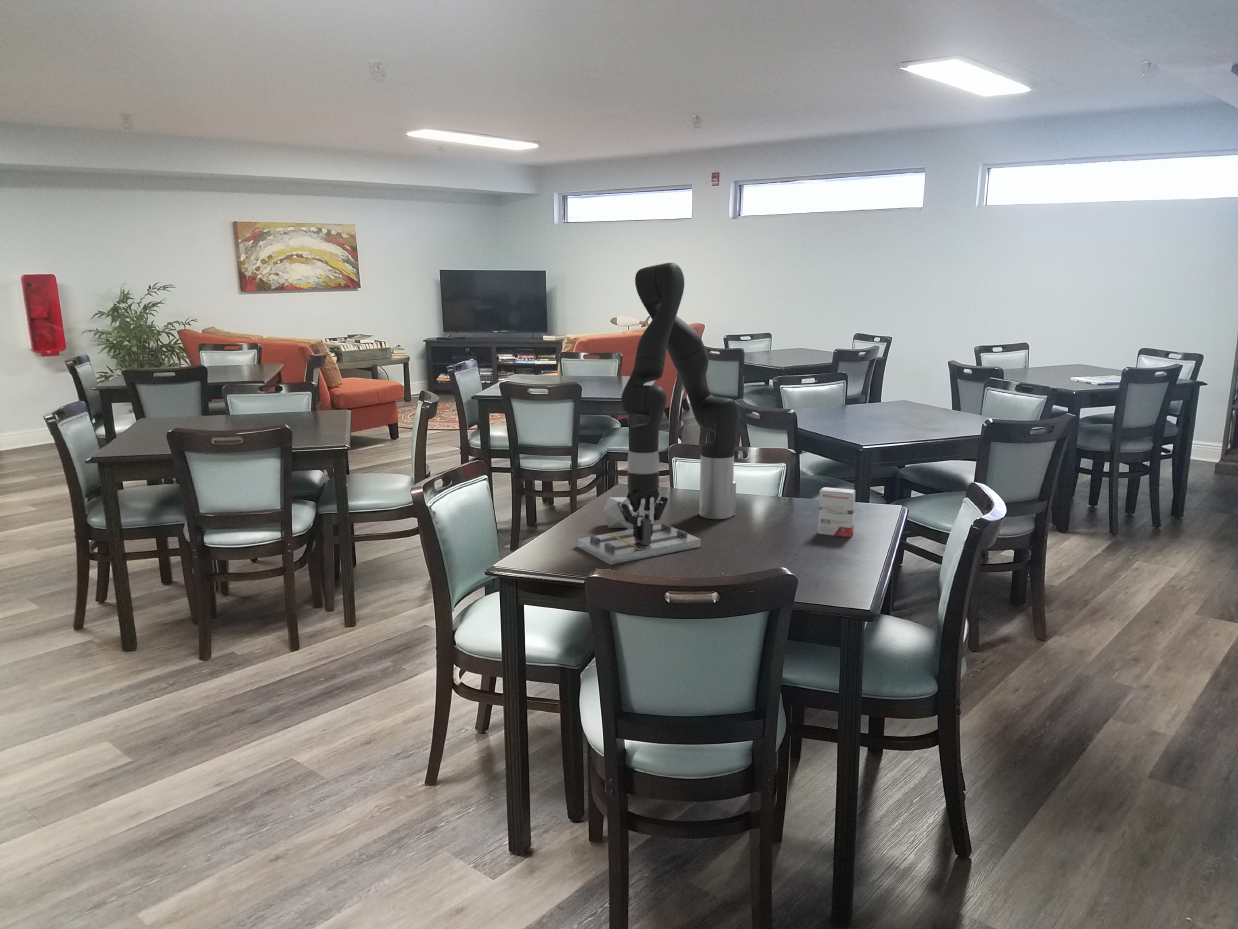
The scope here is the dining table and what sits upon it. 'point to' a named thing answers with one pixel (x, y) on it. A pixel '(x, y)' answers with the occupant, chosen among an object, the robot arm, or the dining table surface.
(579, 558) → the dining table surface
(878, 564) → the dining table surface
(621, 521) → the die
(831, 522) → the ink box
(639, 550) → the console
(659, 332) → the robot arm
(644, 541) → the fader near
